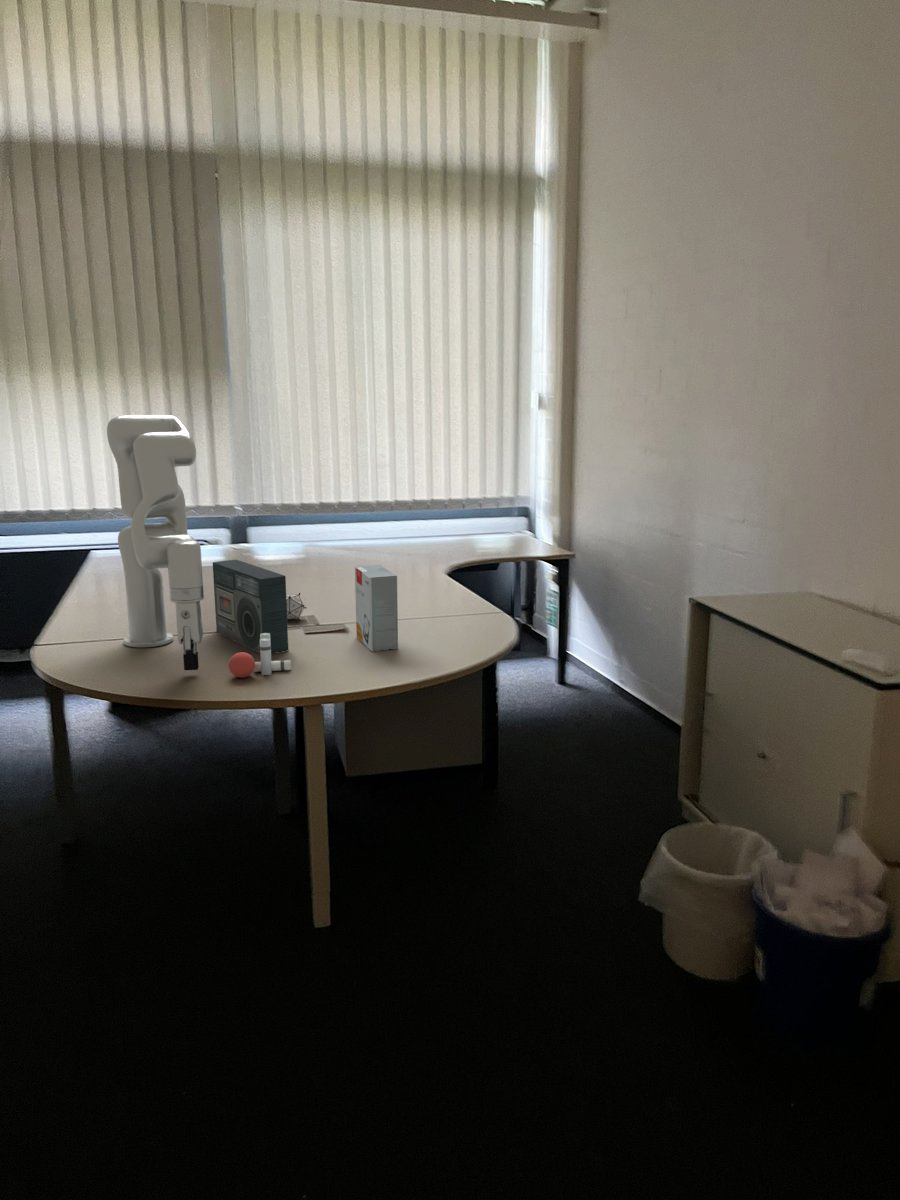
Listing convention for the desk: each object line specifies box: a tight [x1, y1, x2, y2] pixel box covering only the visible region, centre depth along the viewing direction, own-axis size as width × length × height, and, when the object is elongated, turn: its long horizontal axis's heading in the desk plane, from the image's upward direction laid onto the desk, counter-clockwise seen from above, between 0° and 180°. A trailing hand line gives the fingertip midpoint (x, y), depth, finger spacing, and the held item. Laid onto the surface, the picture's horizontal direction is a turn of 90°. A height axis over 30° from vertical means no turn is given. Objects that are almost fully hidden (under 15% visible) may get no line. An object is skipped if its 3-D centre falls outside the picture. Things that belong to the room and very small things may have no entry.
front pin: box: [254, 659, 292, 673], centre depth 214 cm, size 2×2×8 cm
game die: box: [286, 592, 307, 622], centre depth 262 cm, size 9×8×10 cm
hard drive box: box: [354, 564, 399, 652], centre depth 236 cm, size 16×8×20 cm, turn 21°
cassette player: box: [212, 559, 289, 655], centre depth 238 cm, size 29×7×20 cm, turn 38°
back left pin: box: [260, 633, 271, 645], centre depth 215 cm, size 2×2×8 cm
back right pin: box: [259, 638, 273, 676], centre depth 211 cm, size 2×2×8 cm
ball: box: [228, 651, 256, 679], centre depth 209 cm, size 6×6×6 cm
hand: (191, 669), depth 210 cm, fingers closed
